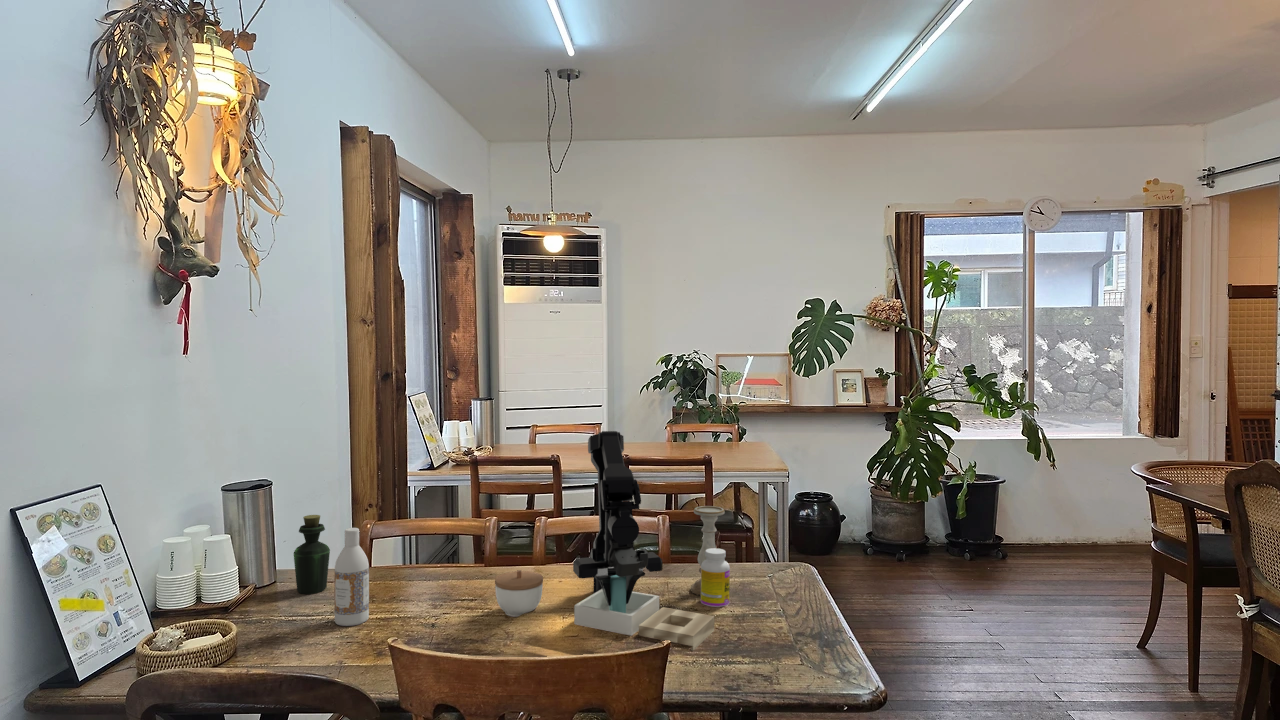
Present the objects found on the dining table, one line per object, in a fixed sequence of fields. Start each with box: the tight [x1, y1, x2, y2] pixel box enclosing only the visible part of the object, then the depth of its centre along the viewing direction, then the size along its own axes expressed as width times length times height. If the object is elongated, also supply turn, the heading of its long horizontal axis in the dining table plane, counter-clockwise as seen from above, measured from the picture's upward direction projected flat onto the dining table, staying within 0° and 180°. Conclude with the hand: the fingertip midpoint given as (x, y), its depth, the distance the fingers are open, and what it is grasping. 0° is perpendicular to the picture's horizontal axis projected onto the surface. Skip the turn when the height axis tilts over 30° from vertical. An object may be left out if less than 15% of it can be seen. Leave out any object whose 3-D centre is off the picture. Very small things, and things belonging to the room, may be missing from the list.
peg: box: [609, 575, 626, 613], centre depth 160 cm, size 4×4×9 cm
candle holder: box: [690, 505, 726, 597], centre depth 181 cm, size 9×9×20 cm
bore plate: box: [638, 607, 715, 652], centre depth 153 cm, size 12×12×3 cm
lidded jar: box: [494, 569, 544, 618], centre depth 166 cm, size 11×11×9 cm
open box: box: [573, 589, 660, 637], centre depth 160 cm, size 14×14×5 cm
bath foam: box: [333, 527, 370, 627], centre depth 160 cm, size 7×7×20 cm
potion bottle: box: [293, 514, 331, 595], centre depth 180 cm, size 8×8×18 cm
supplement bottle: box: [700, 547, 731, 608], centre depth 171 cm, size 7×7×13 cm
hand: (617, 604), depth 160 cm, fingers closed on peg, 4 cm apart
